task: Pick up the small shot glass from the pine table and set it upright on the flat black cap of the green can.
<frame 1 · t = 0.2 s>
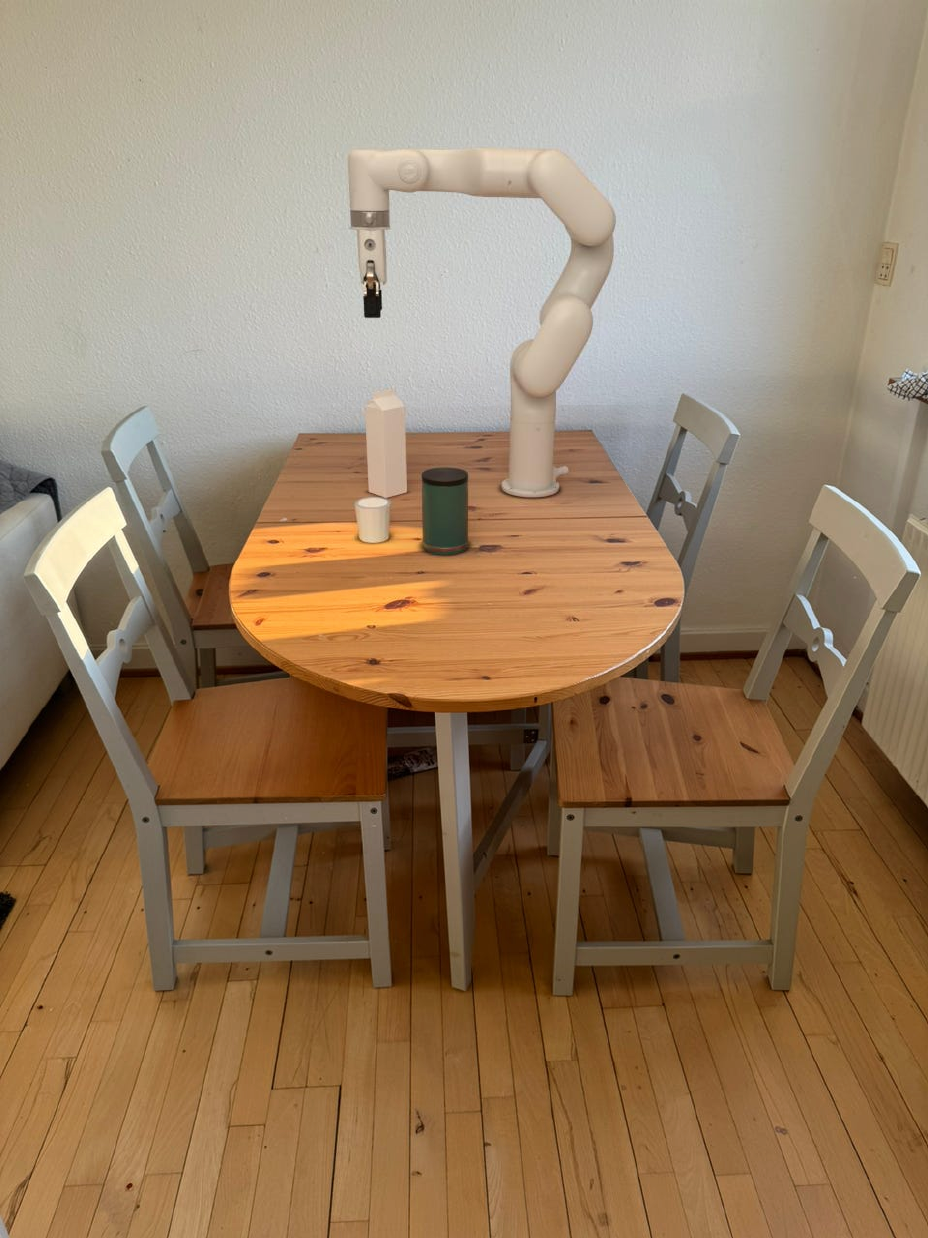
hand: (373, 313, 188), 37 cm above the table, tool pointing down, fingers open, 9 cm apart
green can: (445, 546, 176), on the table
milk: (387, 493, 204), on the table
shot glass: (374, 538, 180), on the table
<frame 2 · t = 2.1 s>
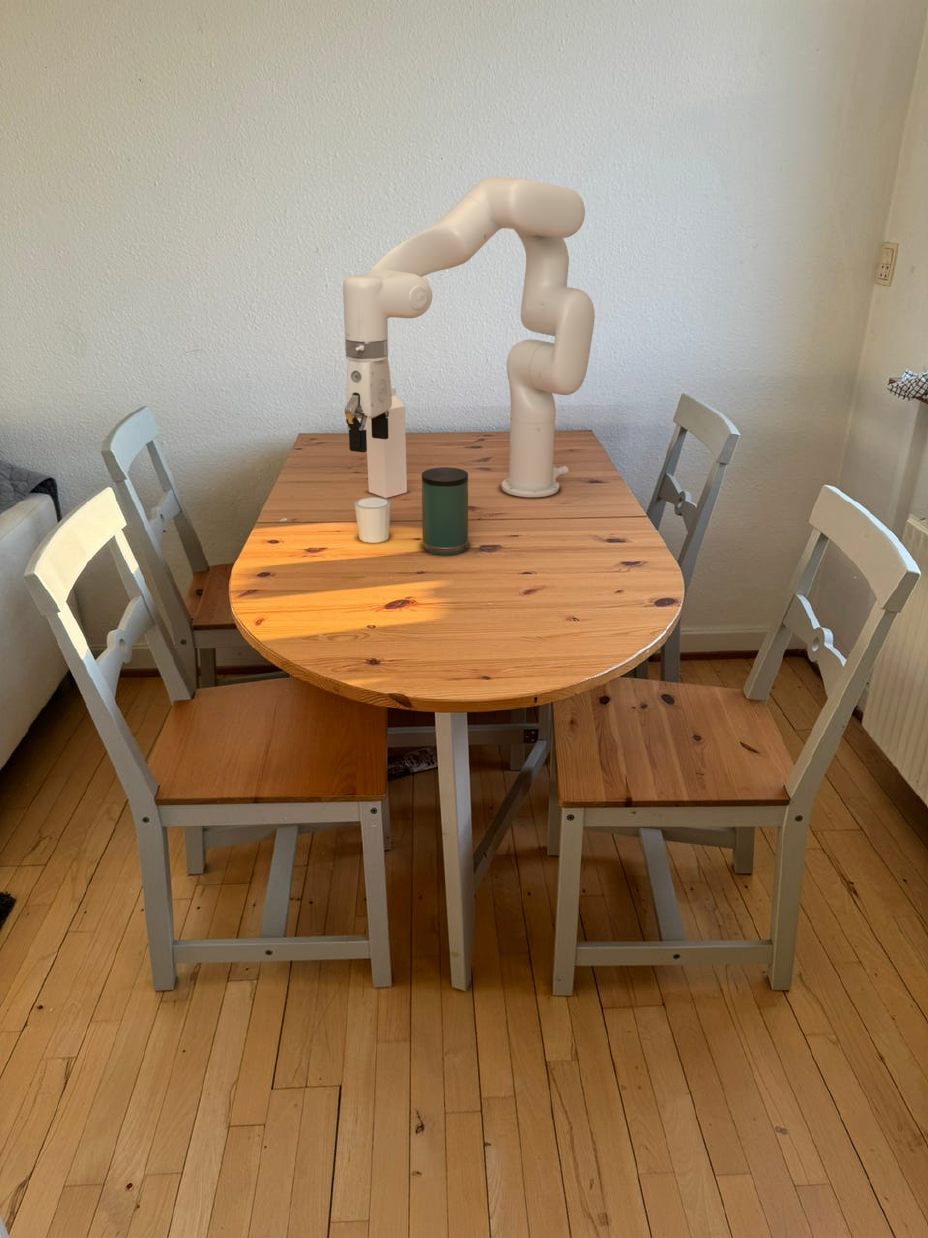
hand: (369, 444, 174), 18 cm above the table, tool pointing down, fingers open, 9 cm apart
nothing on the table moved.
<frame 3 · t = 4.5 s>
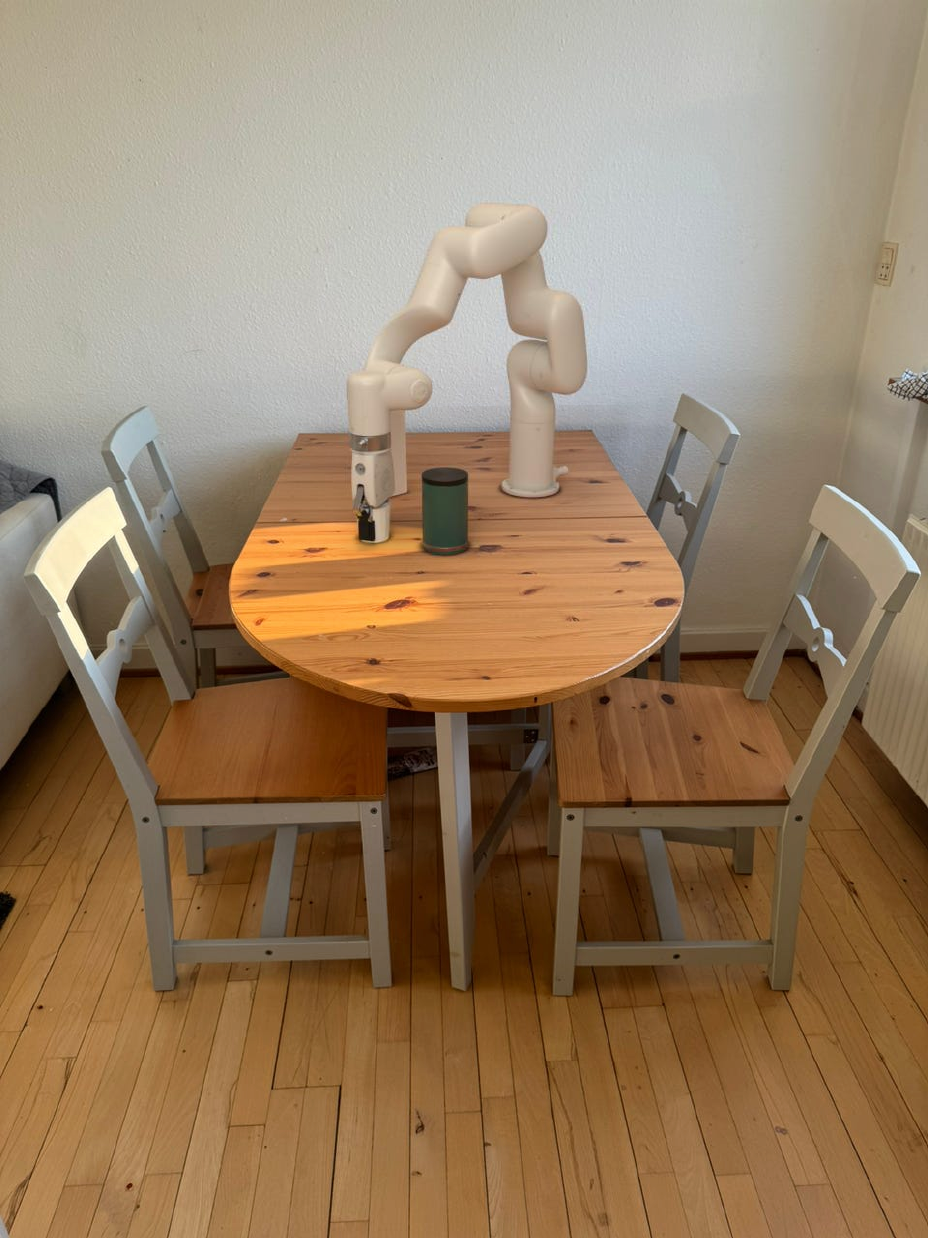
hand: (374, 533, 180), 1 cm above the table, tool pointing down, fingers closed on shot glass, 5 cm apart
shot glass: (374, 538, 180), on the table, touching gripper
everything else where it was.
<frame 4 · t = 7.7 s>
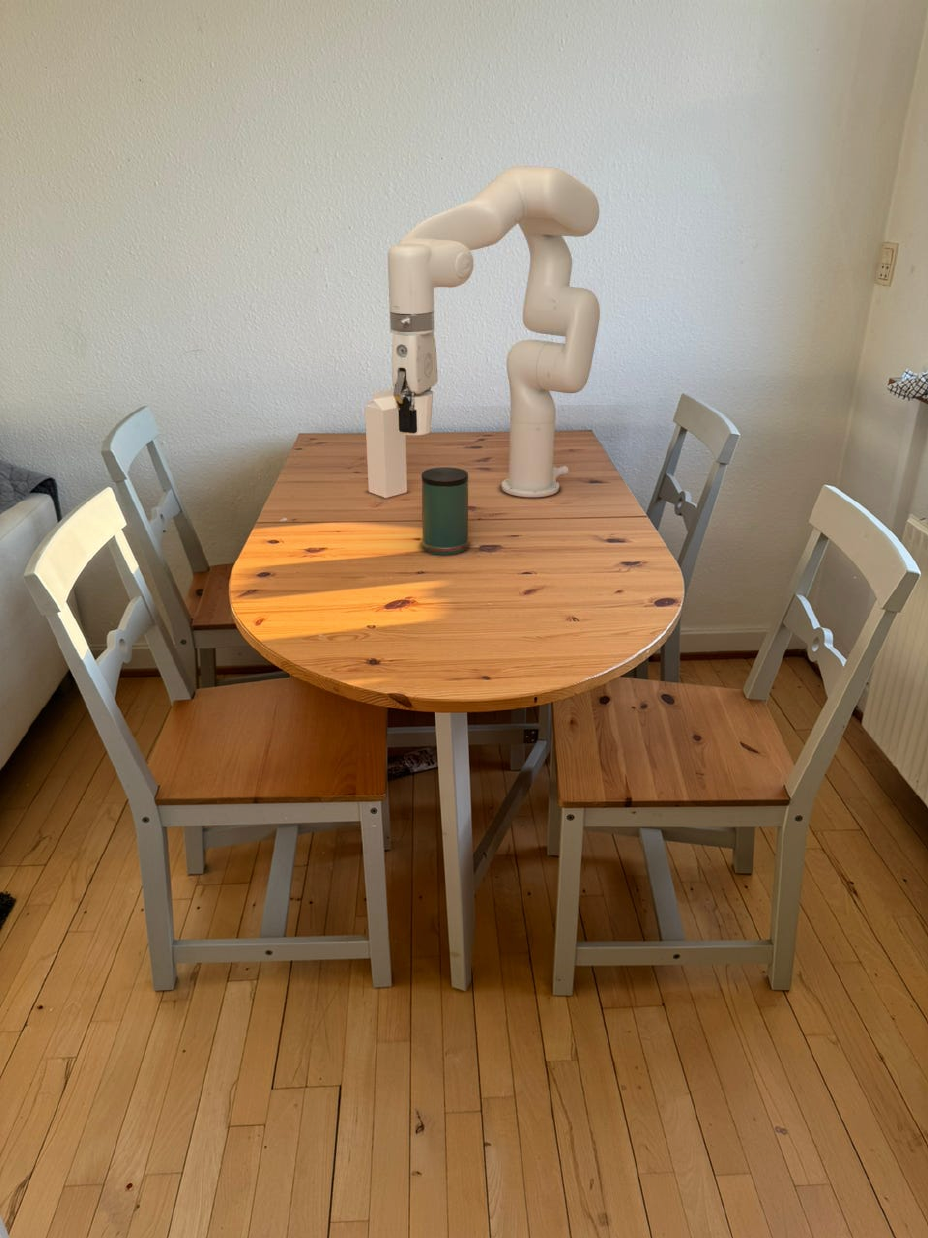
hand: (415, 426, 168), 22 cm above the table, tool pointing down, fingers closed on shot glass, 5 cm apart
shot glass: (414, 432, 168), point 21 cm above the table, touching gripper
everything else where it was.
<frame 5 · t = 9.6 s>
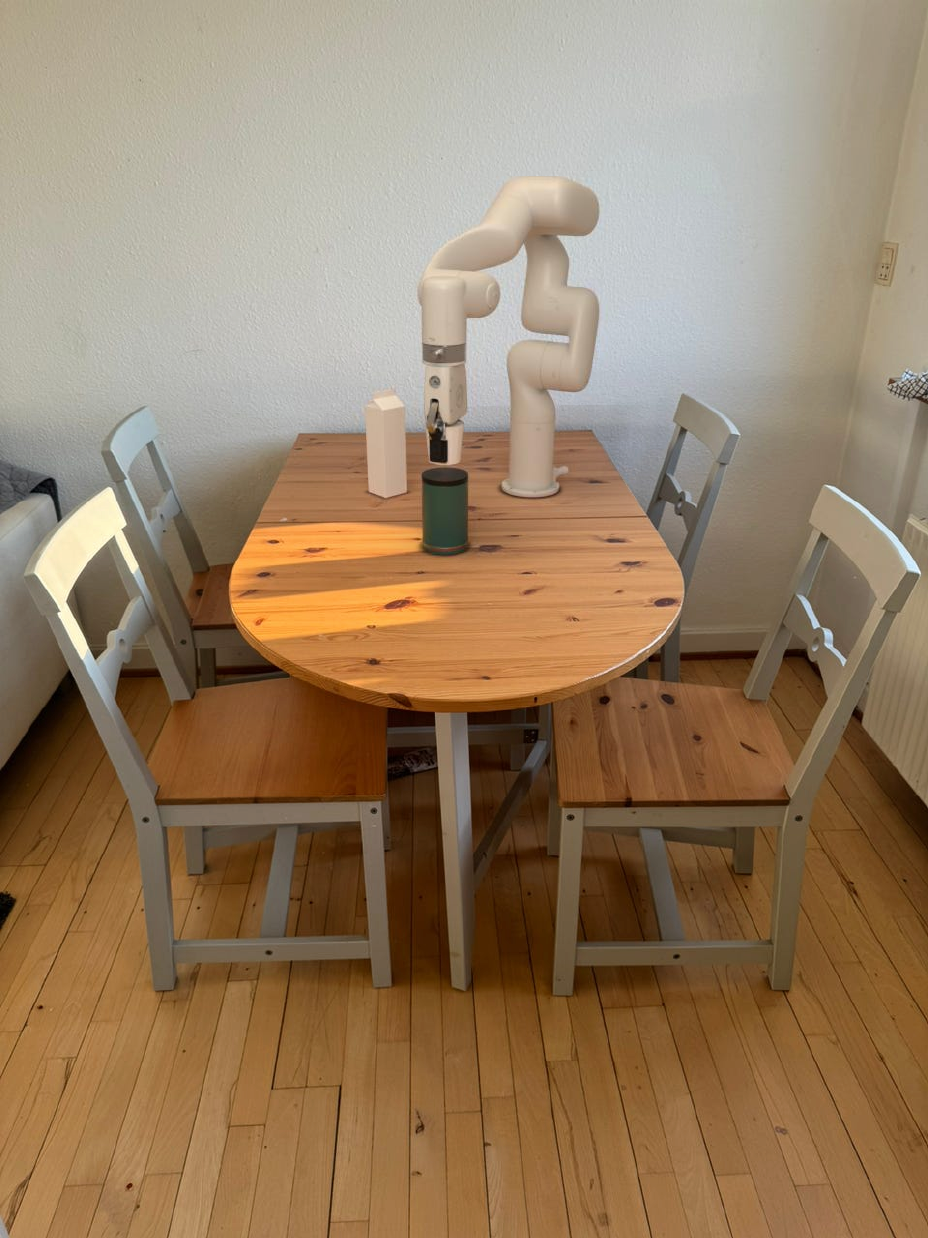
hand: (444, 456, 168), 17 cm above the table, tool pointing down, fingers closed on shot glass, 5 cm apart
shot glass: (444, 461, 169), point 16 cm above the table, touching gripper
everything else where it was.
when the fingers open (15 cm above the table, at t = 10.9 s): shot glass stays where it is, resting on green can.
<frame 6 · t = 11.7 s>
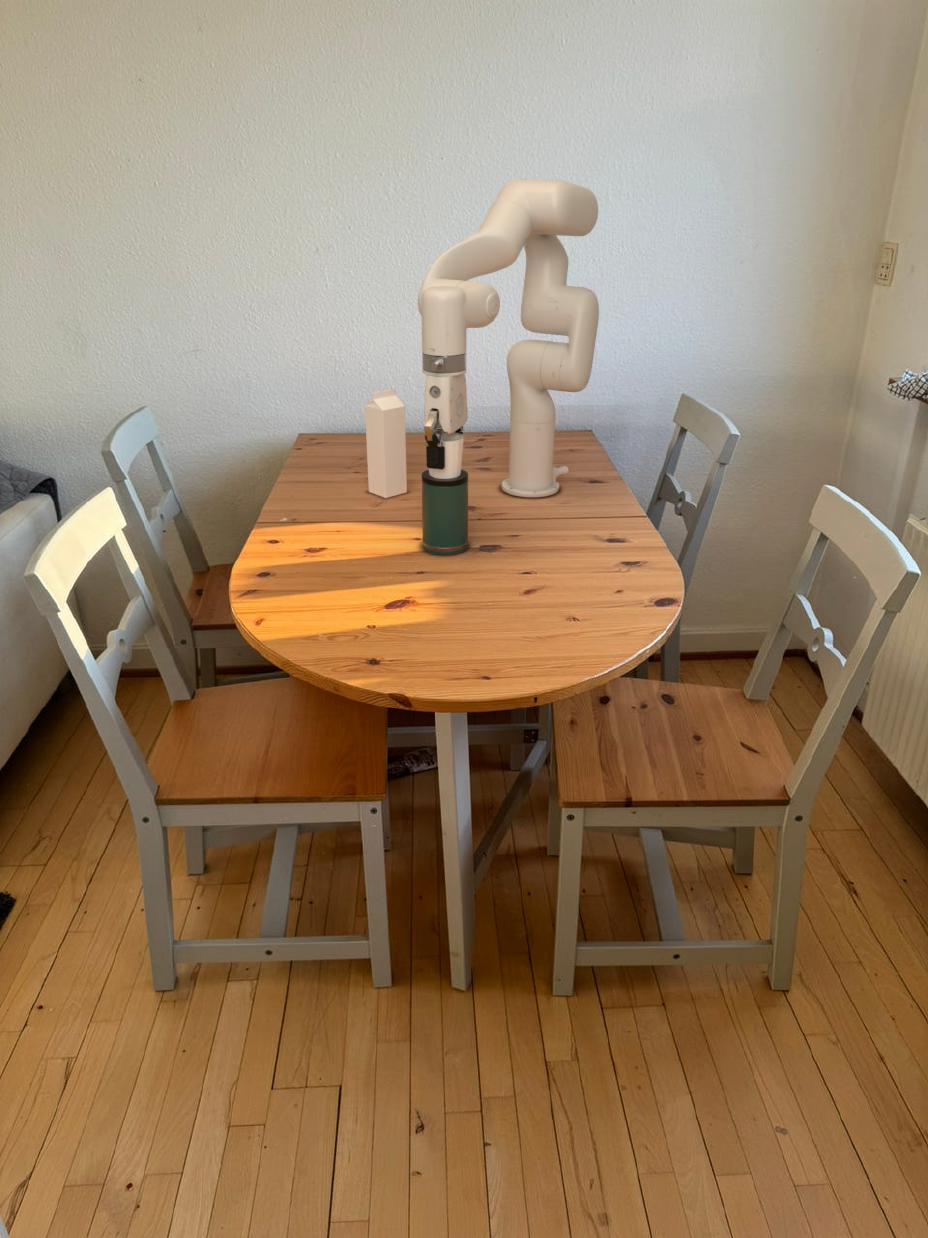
hand: (445, 460, 169), 16 cm above the table, tool pointing down, fingers open, 9 cm apart
green can: (445, 546, 176), on the table, touching shot glass
shot glass: (444, 475, 170), point 14 cm above the table, touching green can
everything else where it was.
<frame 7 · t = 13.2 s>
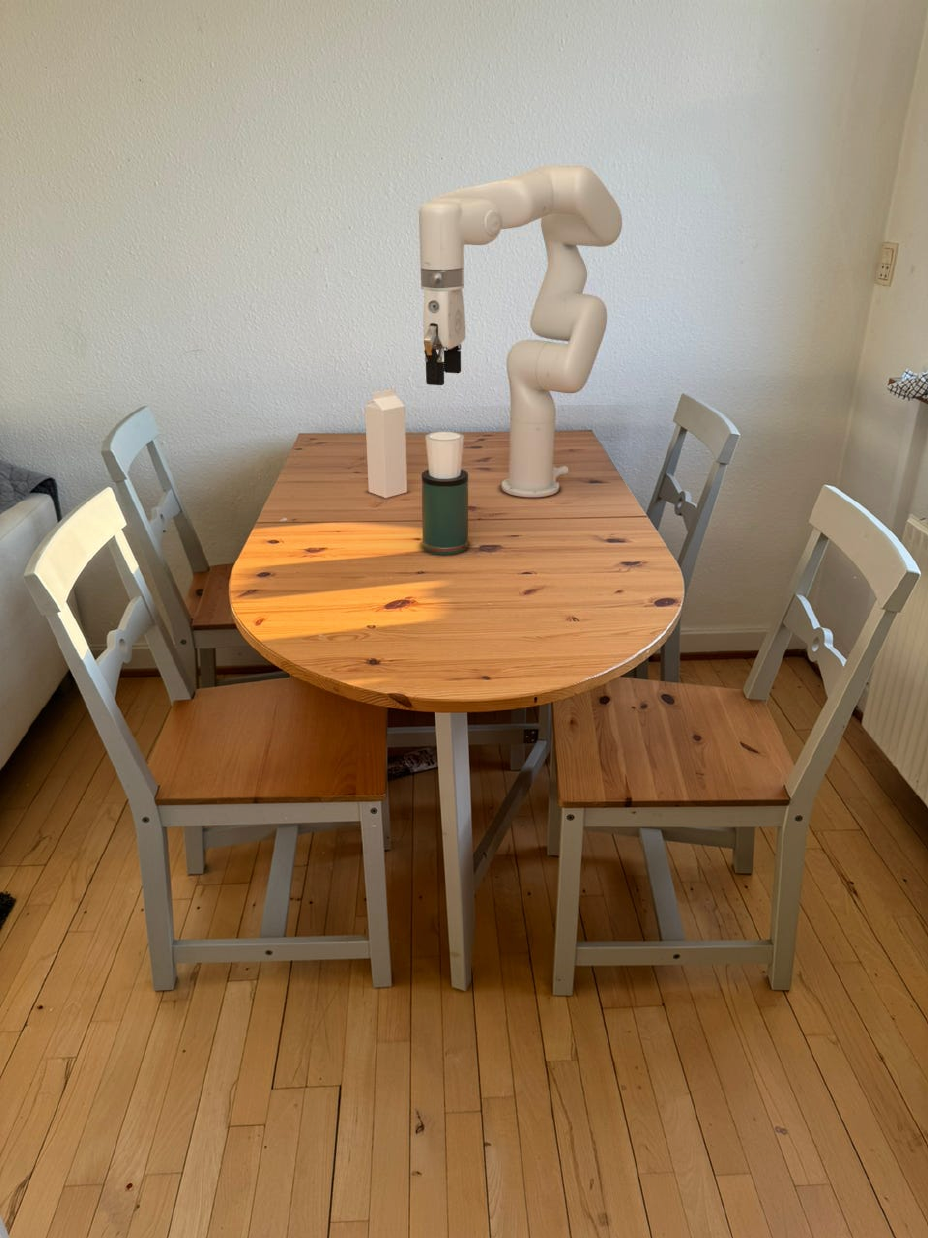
hand: (444, 378, 172), 29 cm above the table, tool pointing down, fingers open, 9 cm apart
nothing on the table moved.
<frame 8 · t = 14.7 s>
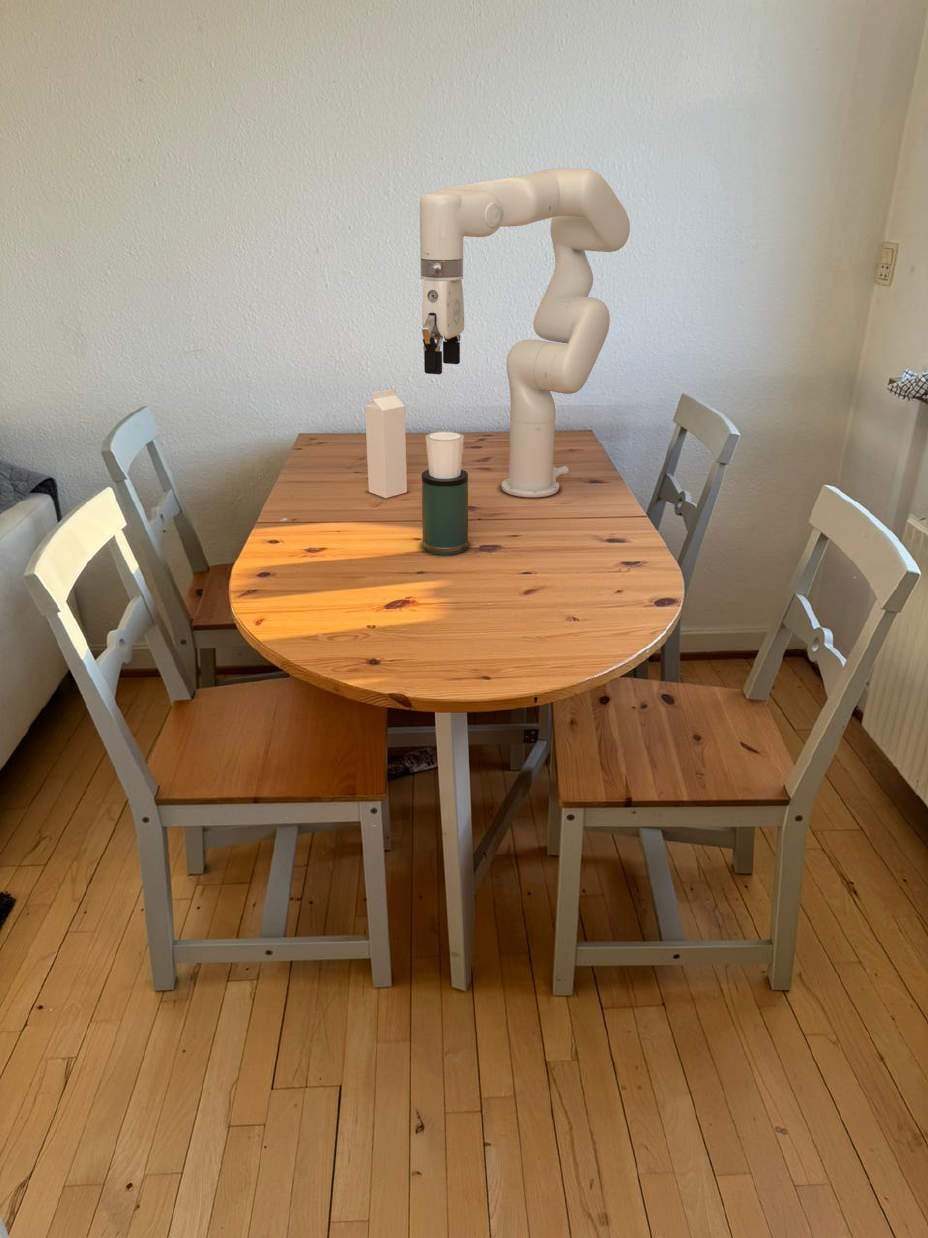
hand: (442, 368, 173), 30 cm above the table, tool pointing down, fingers open, 9 cm apart
nothing on the table moved.
at the end: shot glass 0.0 cm off-centre on the green can, point 13.8 cm above the green can's base; shot glass tilted 0°; green can tilted 0° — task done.
